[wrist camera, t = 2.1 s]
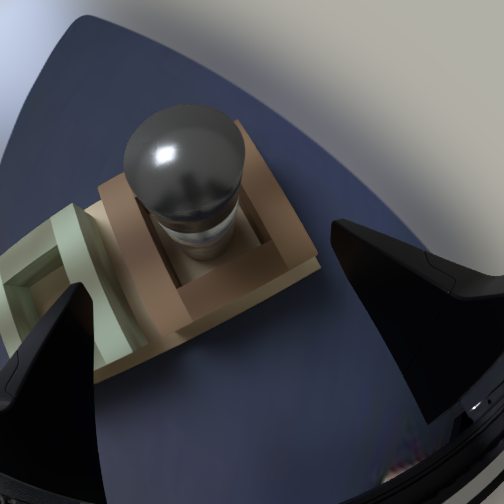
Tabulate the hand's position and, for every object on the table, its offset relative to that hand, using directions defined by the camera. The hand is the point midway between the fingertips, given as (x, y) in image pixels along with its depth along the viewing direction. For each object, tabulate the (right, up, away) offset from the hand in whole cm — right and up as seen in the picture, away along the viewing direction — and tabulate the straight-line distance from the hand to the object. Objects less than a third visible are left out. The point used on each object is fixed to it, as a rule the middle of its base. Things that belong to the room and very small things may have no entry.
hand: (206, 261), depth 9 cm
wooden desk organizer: (-7, -1, +10) cm, 12 cm away
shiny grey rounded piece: (-2, +2, +10) cm, 10 cm away
